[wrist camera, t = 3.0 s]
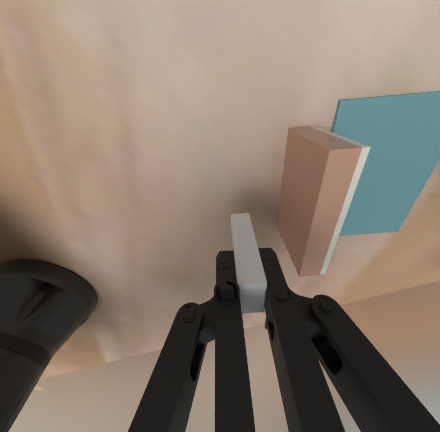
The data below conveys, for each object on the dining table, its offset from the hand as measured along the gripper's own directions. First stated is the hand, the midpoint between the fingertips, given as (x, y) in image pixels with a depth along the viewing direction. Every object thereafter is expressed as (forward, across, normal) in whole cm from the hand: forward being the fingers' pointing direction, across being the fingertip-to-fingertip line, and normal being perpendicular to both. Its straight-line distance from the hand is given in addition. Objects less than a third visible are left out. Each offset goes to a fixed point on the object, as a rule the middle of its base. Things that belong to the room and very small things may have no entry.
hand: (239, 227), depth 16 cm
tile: (+7, +7, 0) cm, 10 cm away
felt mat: (+7, +16, 0) cm, 17 cm away
